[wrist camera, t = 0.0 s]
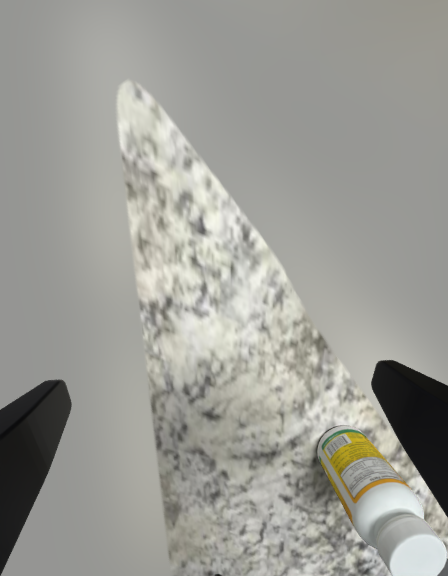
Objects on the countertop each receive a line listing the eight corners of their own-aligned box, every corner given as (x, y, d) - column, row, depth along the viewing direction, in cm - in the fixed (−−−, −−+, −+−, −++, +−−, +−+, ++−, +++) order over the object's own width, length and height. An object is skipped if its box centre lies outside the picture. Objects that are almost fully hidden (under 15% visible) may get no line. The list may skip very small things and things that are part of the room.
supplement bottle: (322, 420, 25) (392, 522, 16) (371, 426, 26) (468, 528, 16) (310, 468, 26) (370, 592, 17) (358, 473, 27) (444, 596, 17)
